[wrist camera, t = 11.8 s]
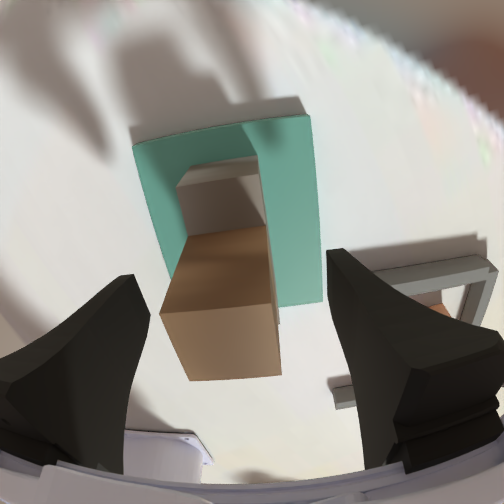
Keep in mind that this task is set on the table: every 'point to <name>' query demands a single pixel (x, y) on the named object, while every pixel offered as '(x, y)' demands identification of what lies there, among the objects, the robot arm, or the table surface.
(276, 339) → the two-tone wooden block
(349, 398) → the corral
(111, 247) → the table surface
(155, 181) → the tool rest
